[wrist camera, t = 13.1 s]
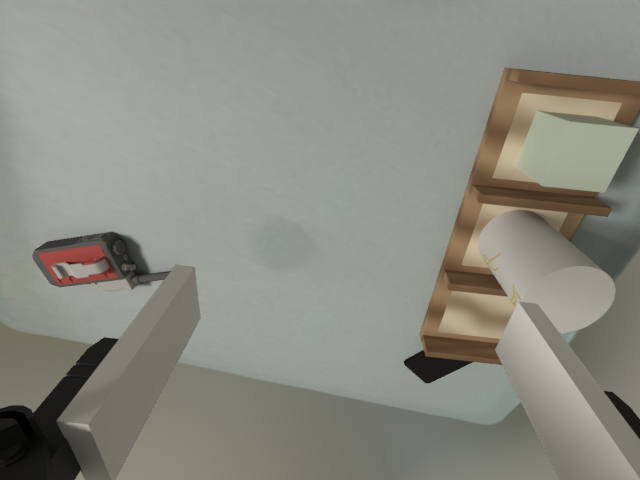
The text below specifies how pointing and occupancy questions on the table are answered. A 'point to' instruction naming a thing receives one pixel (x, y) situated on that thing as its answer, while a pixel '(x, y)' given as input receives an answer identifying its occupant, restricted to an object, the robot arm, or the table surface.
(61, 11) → the table surface
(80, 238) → the walkie-talkie
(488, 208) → the frame
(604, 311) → the white cylinder
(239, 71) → the table surface
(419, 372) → the smartphone
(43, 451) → the robot arm
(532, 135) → the sage block
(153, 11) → the table surface
